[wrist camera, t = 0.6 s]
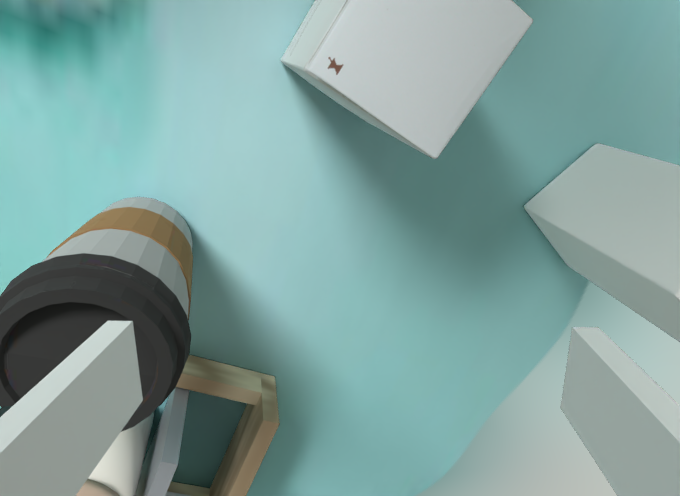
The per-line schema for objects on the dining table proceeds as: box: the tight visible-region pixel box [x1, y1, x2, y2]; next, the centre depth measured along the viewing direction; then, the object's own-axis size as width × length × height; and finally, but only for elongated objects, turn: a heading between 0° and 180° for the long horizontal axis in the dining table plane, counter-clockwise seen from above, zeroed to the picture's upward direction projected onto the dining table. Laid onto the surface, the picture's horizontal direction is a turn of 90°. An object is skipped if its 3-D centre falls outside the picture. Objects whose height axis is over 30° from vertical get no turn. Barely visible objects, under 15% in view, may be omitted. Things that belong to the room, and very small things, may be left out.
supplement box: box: [281, 0, 533, 159], centre depth 26 cm, size 7×7×13 cm
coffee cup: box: [0, 197, 193, 432], centre depth 28 cm, size 8×8×15 cm
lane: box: [167, 355, 280, 496], centre depth 36 cm, size 25×13×6 cm, turn 67°
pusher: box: [135, 387, 191, 496], centre depth 37 cm, size 11×10×9 cm
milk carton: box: [524, 143, 680, 342], centre depth 31 cm, size 7×7×19 cm
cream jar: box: [76, 411, 155, 496], centre depth 34 cm, size 7×7×11 cm
